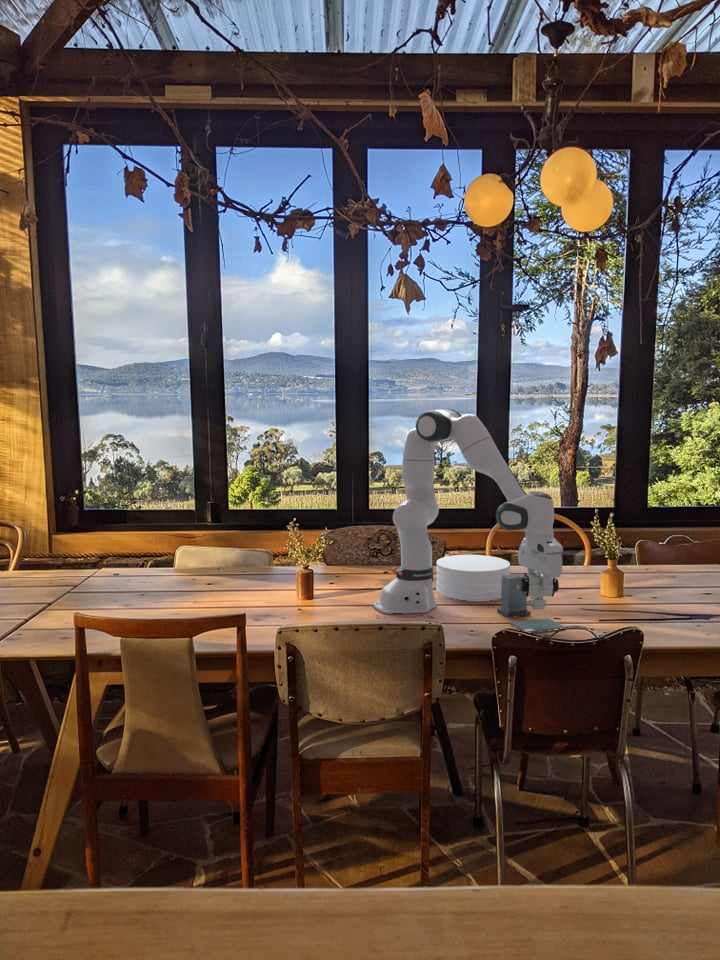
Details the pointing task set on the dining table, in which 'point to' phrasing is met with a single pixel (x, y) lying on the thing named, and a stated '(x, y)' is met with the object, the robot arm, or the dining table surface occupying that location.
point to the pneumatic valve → (537, 589)
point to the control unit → (512, 597)
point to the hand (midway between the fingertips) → (538, 584)
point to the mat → (537, 625)
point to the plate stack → (471, 577)
